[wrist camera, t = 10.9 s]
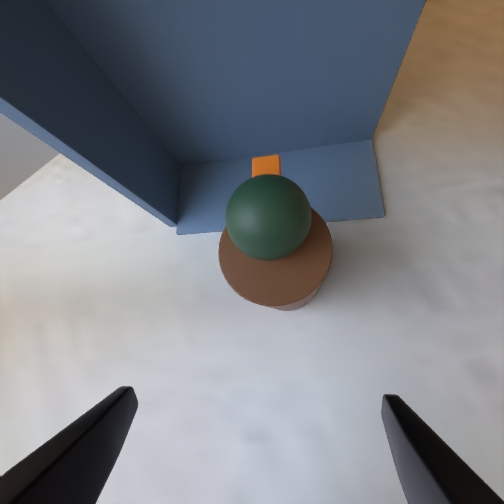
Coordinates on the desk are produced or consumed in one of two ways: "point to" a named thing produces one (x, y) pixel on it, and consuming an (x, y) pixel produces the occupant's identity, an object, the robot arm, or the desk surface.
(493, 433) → the desk surface
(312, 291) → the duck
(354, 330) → the desk surface
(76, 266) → the desk surface
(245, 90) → the cubby
